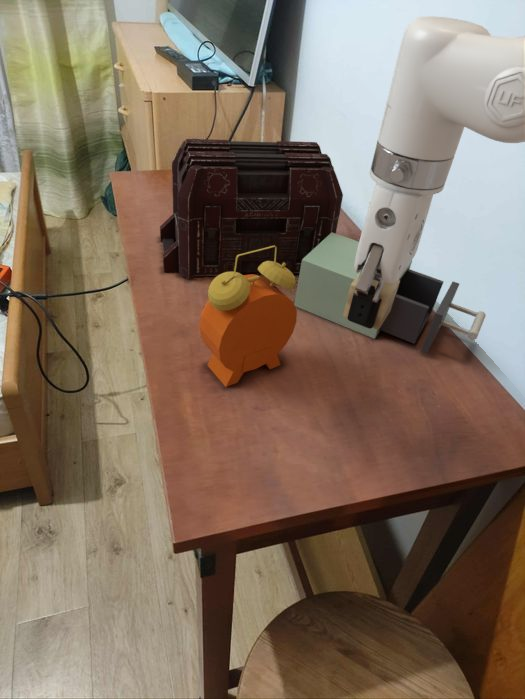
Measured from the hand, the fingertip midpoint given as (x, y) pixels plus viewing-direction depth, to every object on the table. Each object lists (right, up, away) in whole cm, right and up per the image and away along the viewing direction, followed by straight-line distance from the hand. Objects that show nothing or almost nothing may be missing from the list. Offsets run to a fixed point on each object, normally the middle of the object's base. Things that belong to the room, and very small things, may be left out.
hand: (367, 311), depth 62 cm
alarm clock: (-16, -7, +16) cm, 24 cm away
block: (0, 0, 0) cm, 0 cm away
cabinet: (+3, +3, +31) cm, 31 cm away
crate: (-16, +15, +42) cm, 47 cm away
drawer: (+13, -1, +27) cm, 30 cm away
